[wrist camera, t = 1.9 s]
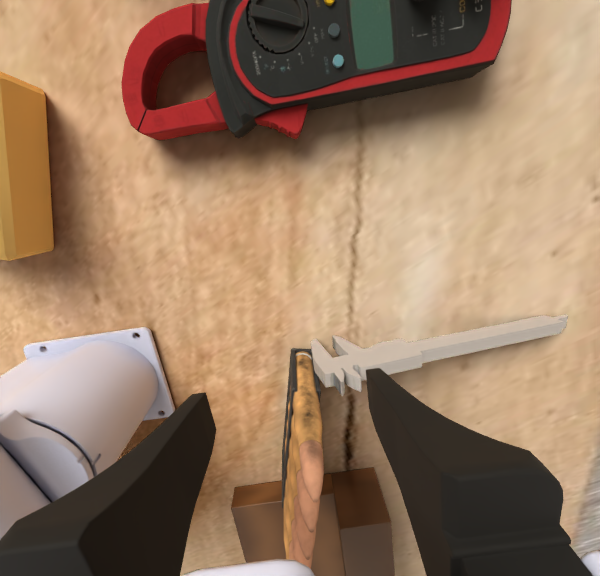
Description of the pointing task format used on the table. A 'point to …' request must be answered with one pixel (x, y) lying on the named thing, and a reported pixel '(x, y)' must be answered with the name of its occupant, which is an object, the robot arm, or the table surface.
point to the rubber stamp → (24, 171)
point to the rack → (322, 525)
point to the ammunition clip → (302, 458)
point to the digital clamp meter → (304, 57)
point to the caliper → (421, 350)
